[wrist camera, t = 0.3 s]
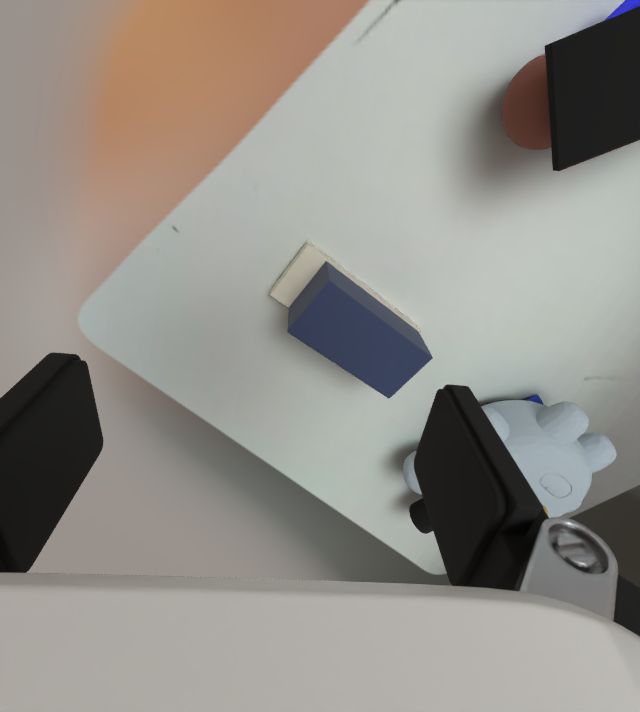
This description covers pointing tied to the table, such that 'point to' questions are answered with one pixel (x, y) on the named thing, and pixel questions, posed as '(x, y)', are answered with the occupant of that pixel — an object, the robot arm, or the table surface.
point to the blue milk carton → (349, 322)
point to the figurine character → (580, 92)
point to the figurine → (539, 453)
